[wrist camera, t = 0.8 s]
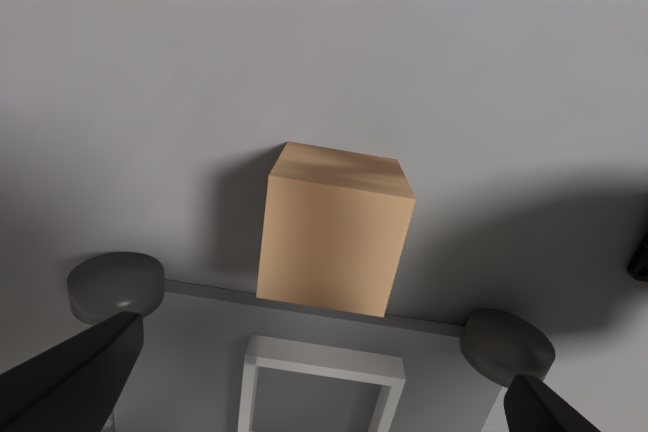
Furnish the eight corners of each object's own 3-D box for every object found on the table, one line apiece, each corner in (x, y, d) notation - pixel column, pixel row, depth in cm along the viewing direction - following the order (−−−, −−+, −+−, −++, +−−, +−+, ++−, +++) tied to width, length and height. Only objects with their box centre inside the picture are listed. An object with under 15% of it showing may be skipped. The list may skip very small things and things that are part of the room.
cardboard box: (396, 159, 17) (416, 199, 13) (373, 253, 19) (383, 317, 15) (288, 140, 17) (268, 175, 13) (276, 237, 19) (256, 297, 15)
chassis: (531, 315, 20) (573, 374, 17) (450, 485, 26) (468, 555, 23) (99, 247, 20) (45, 292, 16) (117, 436, 26) (81, 500, 22)
